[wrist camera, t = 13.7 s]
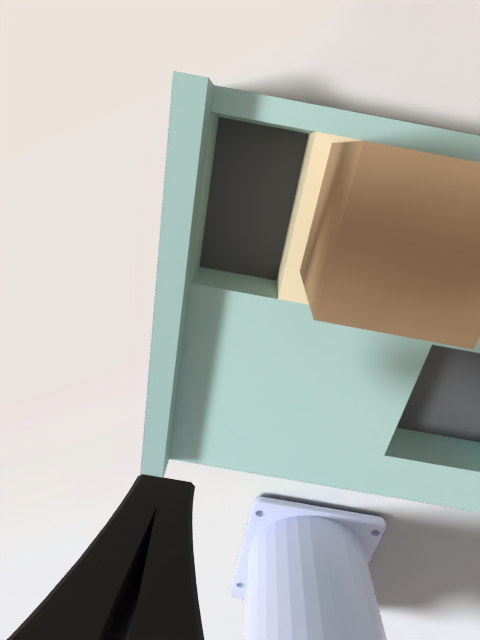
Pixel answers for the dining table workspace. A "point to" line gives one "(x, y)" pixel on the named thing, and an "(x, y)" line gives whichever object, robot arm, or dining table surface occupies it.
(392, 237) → the walnut block
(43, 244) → the dining table surface
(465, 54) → the dining table surface
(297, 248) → the board
